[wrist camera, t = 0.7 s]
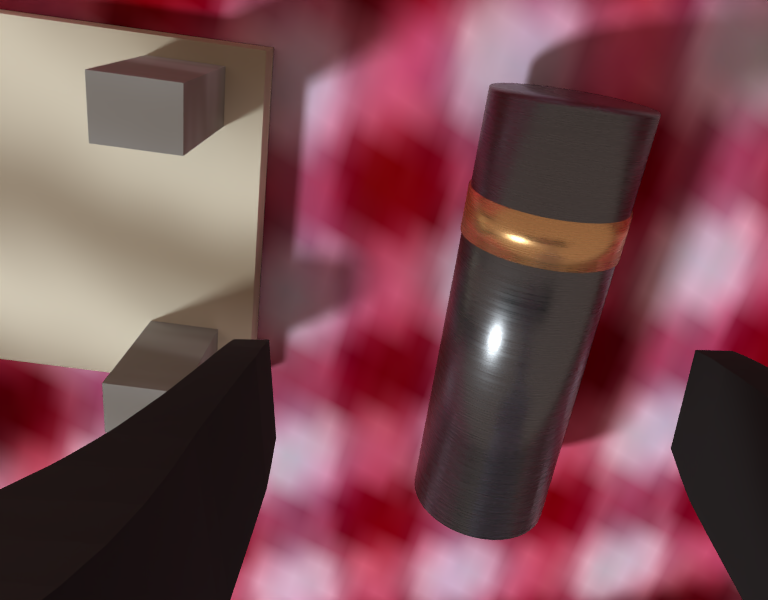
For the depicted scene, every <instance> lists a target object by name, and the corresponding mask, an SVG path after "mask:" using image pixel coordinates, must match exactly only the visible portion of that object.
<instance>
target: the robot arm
mask: <svg viewBox="0 0 768 600" xmlns="http://www.w3.org/2000/svg"><path fill="white" fill-rule="evenodd" d="M275 441H276V430H275V416H274V402H273V389H272V375H271V361H270V347H269V340H254V339H233V340H231V341H230V342H229V343H227V344H226V345H225V346H223V347H222V348H221V349H220V350H218V351H217V352H216V353H215V354H213V355H212V356H211V357H210V358H208V359H207V360H206V361H205V362H203V363H202V364H201V365H200V366H198V367H197V368H196V369H195V370H194V371H192V372H191V373H190V374H188V375H187V376H186V377H185V378H183V379H182V380H181V381H179V382H178V383H177V384H176V385H174V386H173V387H172V388H170V389H169V390H168V391H167V392H165V393H164V394H163V395H161V396H160V397H158V398H157V399H156V400H154V401H153V402H151V403H150V404H148V405H147V406H146V407H144V408H143V409H141V410H140V411H138V412H137V413H136V414H134V415H133V416H131V417H130V418H128V419H127V420H126V421H124V422H123V423H121V424H120V425H118V426H117V427H115V428H114V429H112V430H111V431H109V432H107V433H106V434H104V435H103V436H101V437H99V438H98V439H96V440H94V441H93V442H91V443H89V444H88V445H86V446H84V447H82V448H81V449H79V450H77V451H75V452H73V453H72V454H70V455H68V456H66V457H65V458H63V459H61V460H59V461H57V462H55V463H54V464H52V465H50V466H48V467H46V468H44V469H41V470H39V471H37V472H35V473H33V474H31V475H29V476H27V477H25V478H23V479H21V480H18V481H16V482H14V483H12V484H10V485H8V486H6V487H4V488H2V489H0V600H230V599H231V596H232V593H233V590H234V587H235V584H236V581H237V578H238V575H239V572H240V569H241V566H242V563H243V560H244V557H245V554H246V551H247V547H248V544H249V541H250V538H251V535H252V532H253V529H254V526H255V523H256V520H257V517H258V514H259V511H260V508H261V505H262V501H263V498H264V495H265V492H266V489H267V484H268V479H269V474H270V469H271V463H272V458H273V452H274V446H275ZM671 450H672V453H673V456H674V459H675V462H676V465H677V468H678V470H679V473H680V476H681V479H682V482H683V484H684V487H685V490H686V492H687V495H688V497H689V500H690V502H691V504H692V506H693V508H694V510H695V512H696V514H697V516H698V518H699V519H700V521H701V523H702V525H703V527H704V529H705V531H706V533H707V535H708V536H709V538H710V540H711V542H712V544H713V546H714V548H715V550H716V551H717V553H718V555H719V557H720V559H721V561H722V562H723V564H724V566H725V568H726V570H727V572H728V573H729V575H730V577H731V579H732V581H733V583H734V585H735V586H736V588H737V590H738V592H739V594H740V596H741V597H742V599H743V600H768V367H766V366H764V365H762V364H760V363H758V362H756V361H754V360H752V359H750V358H748V357H746V356H743V355H741V354H738V353H736V352H734V351H711V350H695V354H694V358H693V362H692V366H691V370H690V374H689V378H688V382H687V386H686V390H685V394H684V398H683V402H682V406H681V410H680V414H679V418H678V422H677V426H676V430H675V434H674V438H673V442H672V446H671Z"/></svg>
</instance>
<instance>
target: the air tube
mask: <svg viewBox="0 0 768 600" xmlns="http://www.w3.org/2000/svg"><path fill="white" fill-rule="evenodd" d="M660 116H661V114H660V113H659V112H658V111H656V110H654V109H651V108H649V107H646V106H642V105H639V104H636V103H632V102H628V101H624V100H620V99H616V98H611V97H607V96H602V95H597V94H592V93H586V92H581V91H575V90H569V89H562V88H555V87H548V86H539V85H530V84H518V83H495V84H491V85H490V86H489V91H488V96H487V102H486V107H485V112H484V117H483V123H482V128H481V133H480V138H479V144H478V149H477V154H476V160H475V165H474V170H473V175H472V179H471V180H470V182H469V186H468V191H467V197H466V202H465V207H464V212H463V218H462V223H461V232H462V233H461V239H460V244H459V249H458V254H457V260H456V265H455V270H454V276H453V281H452V286H451V291H450V297H449V302H448V307H447V312H446V318H445V323H444V328H443V334H442V339H441V344H440V349H439V355H438V360H437V365H436V370H435V376H434V381H433V386H432V392H431V397H430V402H429V407H428V413H427V418H426V423H425V428H424V434H423V439H422V444H421V450H420V455H419V460H418V465H417V471H416V476H415V490H416V494H417V496H418V498H419V500H420V502H421V504H422V505H423V507H424V508H425V509H426V510H427V511H428V513H429V514H431V515H432V516H433V517H434V518H435V519H436V520H438V521H439V522H440V523H442V524H443V525H445V526H447V527H448V528H450V529H452V530H455V531H457V532H459V533H462V534H464V535H467V536H471V537H475V538H480V539H489V540H503V539H510V538H514V537H517V536H520V535H522V534H525V533H526V532H528V531H529V530H531V529H532V528H533V527H534V526H535V525H536V523H537V522H538V520H539V518H540V516H541V512H542V509H543V506H544V502H545V499H546V496H547V492H548V489H549V486H550V482H551V479H552V476H553V472H554V469H555V466H556V462H557V459H558V456H559V452H560V449H561V446H562V442H563V439H564V436H565V433H566V429H567V426H568V423H569V419H570V416H571V413H572V409H573V406H574V403H575V399H576V396H577V393H578V389H579V386H580V383H581V379H582V376H583V373H584V369H585V366H586V363H587V359H588V356H589V353H590V349H591V346H592V343H593V339H594V336H595V333H596V329H597V326H598V323H599V319H600V316H601V313H602V309H603V306H604V303H605V299H606V296H607V293H608V289H609V286H610V283H611V279H612V276H613V273H614V269H615V266H616V265H617V264H618V262H619V260H620V257H621V253H622V250H623V247H624V243H625V240H626V237H627V233H628V230H629V227H630V223H631V220H632V217H633V212H632V209H633V206H634V203H635V199H636V196H637V193H638V189H639V186H640V183H641V179H642V176H643V173H644V169H645V166H646V163H647V159H648V156H649V153H650V149H651V146H652V143H653V139H654V136H655V133H656V129H657V126H658V123H659V119H660Z"/></svg>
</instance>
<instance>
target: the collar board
mask: <svg viewBox="0 0 768 600" xmlns="http://www.w3.org/2000/svg"><path fill="white" fill-rule="evenodd" d="M273 50H274V48H272V47H265V46H258V45H251V44H244V43H237V42H230V41H223V40H215V39H208V38H201V37H194V36H187V35H180V34H173V33H166V32H159V31H151V30H144V29H137V28H130V27H123V26H116V25H109V24H102V23H95V22H87V21H80V20H73V19H66V18H59V17H52V16H45V15H38V14H30V13H23V12H16V11H9V10H2V9H0V359H7V360H15V361H23V362H30V363H38V364H46V365H54V366H62V367H70V368H78V369H86V370H94V371H102V372H110V374H109V375H108V376H107V378H106V379H105V380H104V382H103V383H102V386H103V404H104V422H105V432H109V431H111V430H112V429H114V428H115V427H117V426H118V425H120V424H121V423H123V422H124V421H126V420H127V419H128V418H130V417H131V416H133V415H134V414H136V413H137V412H138V411H140V410H141V409H143V408H144V407H146V406H147V405H148V404H150V403H151V402H153V401H154V400H156V399H157V398H158V397H160V396H161V395H163V394H164V393H165V392H167V391H168V390H169V389H170V388H172V387H173V386H174V385H176V384H177V383H178V382H179V381H181V380H182V379H183V378H185V377H186V376H187V375H188V374H190V373H191V372H192V371H194V370H195V369H196V368H197V367H198V366H200V365H201V364H202V363H203V362H205V361H206V360H207V359H208V358H210V357H211V356H212V355H213V354H215V353H216V352H217V351H218V350H220V349H221V348H222V347H223V346H225V345H226V344H227V343H229V342H230V341H231V340H233V339H254V340H257V332H258V314H259V297H260V279H261V261H262V244H263V226H264V209H265V191H266V173H267V156H268V138H269V120H270V103H271V85H272V68H273Z"/></svg>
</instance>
